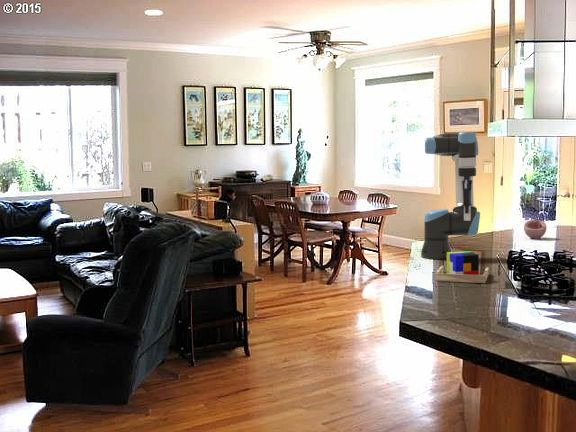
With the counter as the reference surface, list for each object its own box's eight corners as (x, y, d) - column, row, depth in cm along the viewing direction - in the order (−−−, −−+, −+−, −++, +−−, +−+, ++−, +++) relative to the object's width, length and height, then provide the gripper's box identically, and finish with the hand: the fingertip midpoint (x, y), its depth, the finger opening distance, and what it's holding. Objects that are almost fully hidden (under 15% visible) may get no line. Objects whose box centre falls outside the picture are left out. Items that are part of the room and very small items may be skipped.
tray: (441, 272, 289) (441, 265, 289) (488, 274, 282) (488, 267, 282) (434, 280, 273) (434, 273, 272) (485, 283, 265) (485, 275, 265)
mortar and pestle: (524, 240, 372) (524, 219, 371) (523, 236, 383) (523, 217, 382) (547, 240, 368) (547, 219, 367) (545, 237, 380) (545, 217, 378)
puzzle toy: (455, 279, 274) (455, 256, 272) (446, 275, 283) (446, 252, 282) (478, 278, 275) (478, 254, 274) (468, 273, 285) (468, 251, 284)
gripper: (460, 166, 297) (460, 218, 300) (456, 168, 285) (456, 222, 288) (477, 166, 295) (477, 218, 298) (474, 168, 283) (474, 222, 286)
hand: (467, 220), depth 293 cm, fingers closed
